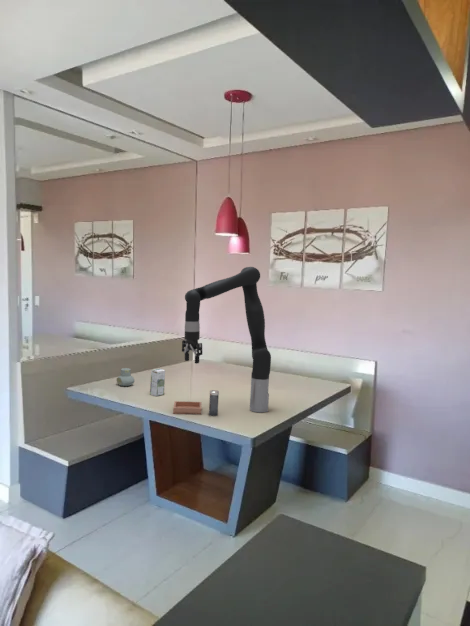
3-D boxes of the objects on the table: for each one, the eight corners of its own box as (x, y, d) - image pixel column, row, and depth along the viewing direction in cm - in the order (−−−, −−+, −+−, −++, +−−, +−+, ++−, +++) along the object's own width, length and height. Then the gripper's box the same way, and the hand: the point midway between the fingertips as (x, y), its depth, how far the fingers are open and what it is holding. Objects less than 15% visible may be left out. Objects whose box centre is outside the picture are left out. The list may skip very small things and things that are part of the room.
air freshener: (114, 384, 285) (115, 368, 284) (127, 382, 291) (127, 366, 290) (123, 388, 277) (123, 371, 276) (135, 386, 283) (136, 370, 282)
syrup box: (157, 392, 270) (158, 368, 269) (164, 394, 266) (165, 369, 265) (149, 394, 265) (150, 369, 264) (156, 396, 262) (157, 371, 260)
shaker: (217, 413, 236) (218, 390, 235) (218, 416, 231) (219, 392, 230) (208, 413, 235) (209, 390, 234) (208, 416, 231) (209, 392, 230)
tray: (201, 407, 245) (201, 401, 245) (201, 414, 233) (201, 408, 233) (174, 406, 244) (174, 401, 243) (173, 413, 232) (173, 407, 232)
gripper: (206, 331, 232) (206, 363, 233) (189, 328, 242) (189, 359, 244) (194, 332, 227) (194, 365, 228) (177, 329, 237) (177, 360, 239)
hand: (191, 362), depth 236 cm, fingers open, 8 cm apart
